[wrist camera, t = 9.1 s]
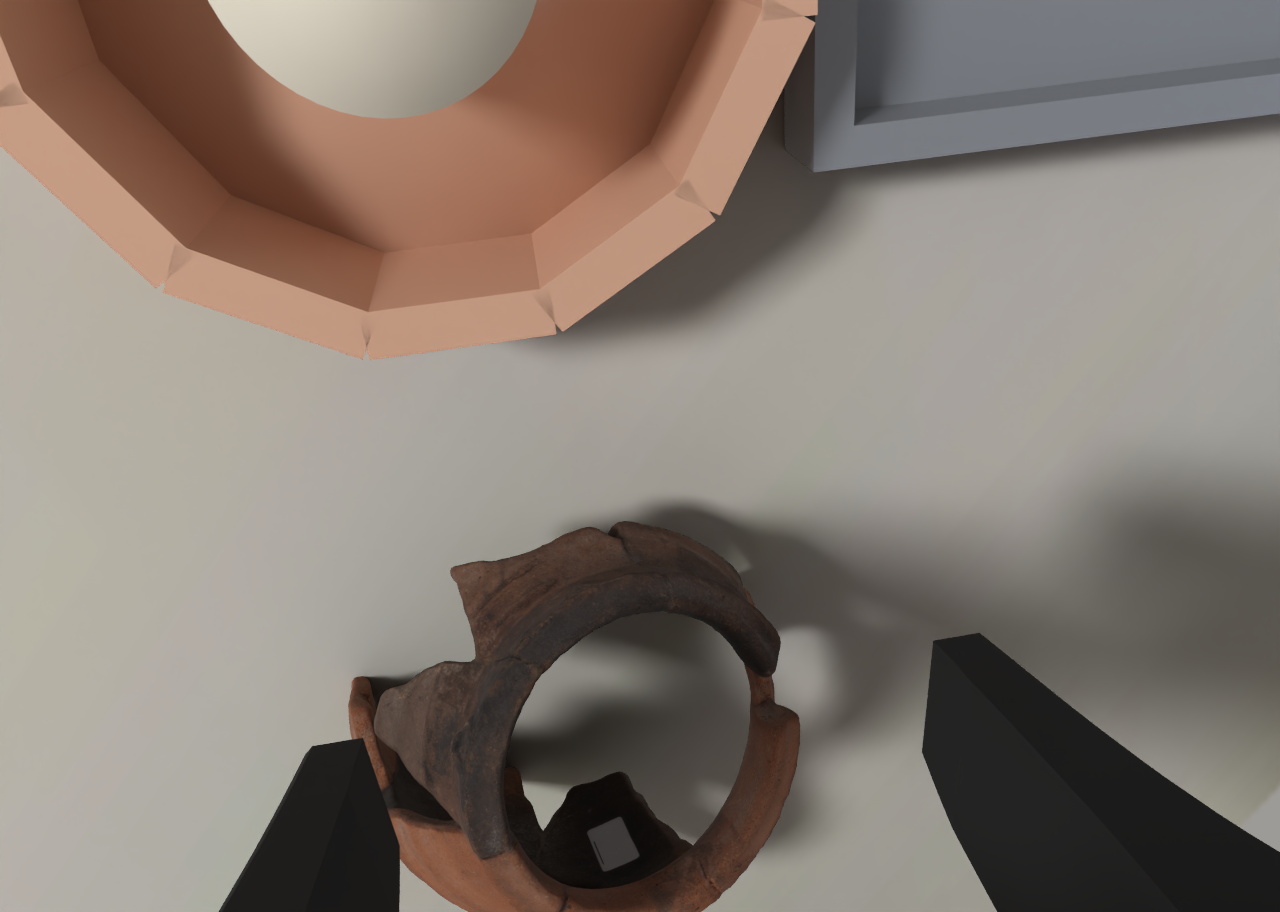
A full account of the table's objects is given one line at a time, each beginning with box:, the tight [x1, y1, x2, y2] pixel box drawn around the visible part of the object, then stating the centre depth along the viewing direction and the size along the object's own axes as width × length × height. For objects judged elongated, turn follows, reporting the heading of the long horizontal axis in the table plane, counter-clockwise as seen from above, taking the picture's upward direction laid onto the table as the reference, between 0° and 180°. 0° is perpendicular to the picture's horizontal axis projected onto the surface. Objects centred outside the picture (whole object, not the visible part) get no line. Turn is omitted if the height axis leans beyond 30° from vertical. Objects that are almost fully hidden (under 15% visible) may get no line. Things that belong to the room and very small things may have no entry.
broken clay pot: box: [348, 521, 800, 912], centre depth 22 cm, size 12×10×8 cm
